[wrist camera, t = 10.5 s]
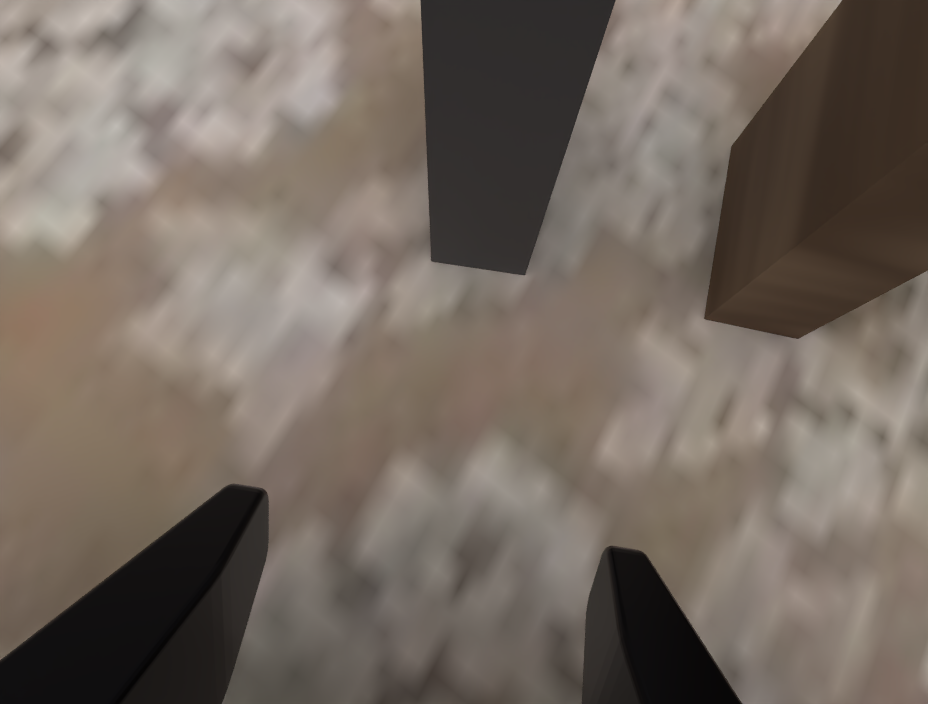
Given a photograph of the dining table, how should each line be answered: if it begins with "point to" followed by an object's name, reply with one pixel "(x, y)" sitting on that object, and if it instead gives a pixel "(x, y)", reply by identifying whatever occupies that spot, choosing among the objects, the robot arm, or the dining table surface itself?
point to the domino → (830, 177)
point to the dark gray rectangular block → (501, 118)
